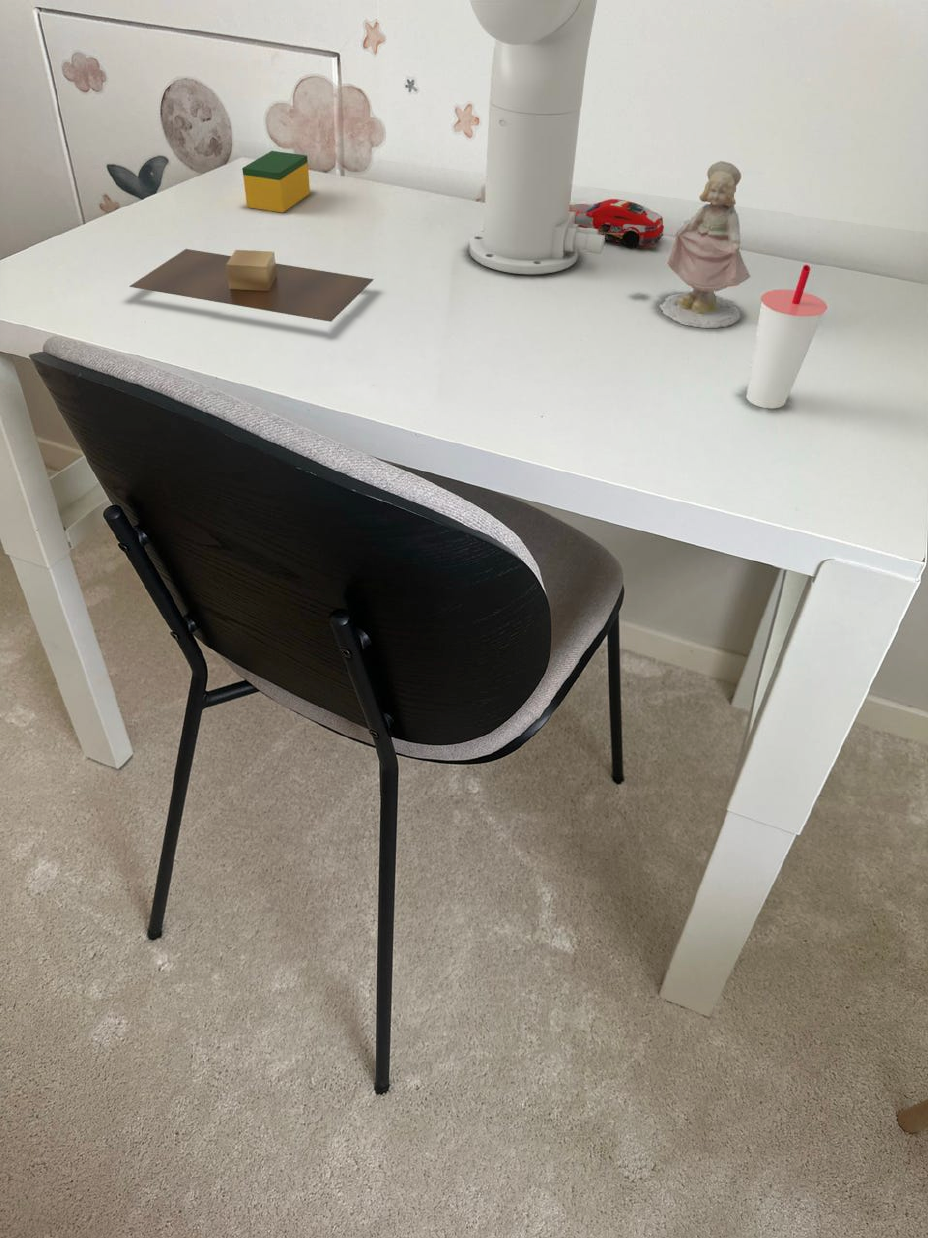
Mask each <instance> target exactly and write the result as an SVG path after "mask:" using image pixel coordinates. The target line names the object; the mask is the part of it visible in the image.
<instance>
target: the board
mask: <svg viewBox="0 0 928 1238" xmlns="http://www.w3.org/2000/svg"><path fill="white" fill-rule="evenodd" d="M231 256H232V255H227V254H220V253H214V252H208V251H201V250H196V249H189V248H185V249H184V250H182V251H181V252H179V253H177V254H176V255H175V256H172V257H171V258H170V259H168V260H167V261H165V262H163V263H162V264H160V265H159V266H158V267H156V268H155V269H153V270H152V271H150V272H148V273H147V274H146V275H144V276H143V277H141V278H140V279H138V280H137V281H135V282H133V283H132V284H131V285H129V288H133V289H139V290H144V291H145V290H147V291H152V292H158V293H162V294H169V295H175V296H181V297H186V298H191V299H199V300H203V301H208V302H215V303H221V304H227V305H232V306H238V307H244V308H249V309H254V310H260V311H267V312H272V313H273V312H274V313H278V314H285V315H290V316H297V317H301V318H307V319H313V320H319V321H324V322H332V321H333V320H334V319H335V318H336V317H338V315H340V314H341V313H342V312H343V311H344V309H345V308H347V307H348V306H349V305H350V304H351V303H352V302H353V301H354V300H355V299H356V297H358V296H359V295H360V294H361V293H362V292H363V291H364V290H365V289H366V288H367V287H368V286H369V285H370V284H371V283H372V282H373V281H374V279H373V278H368V277H363V276H357V275H350V274H344V273H338V272H331V271H325V270H319V269H313V268H307V267H300V266H294V265H288V264H282V263H276V262H275V264H276V273H277V276H276V278H275V280H274V282H273V284H272V286H271V288H270V290H269V291H257V290H237V289H230V287H229V281H228V274H227V267H226V264H227V263H228V261H229V259H230V258H231Z"/></svg>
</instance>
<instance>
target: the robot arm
mask: <svg viewBox="0 0 928 1238" xmlns="http://www.w3.org/2000/svg"><path fill="white" fill-rule="evenodd" d="M469 2H470V6H471V8H472V11H473V13H474V15H475V17H476V19H477V21H478V23H479V24H480V26H481V27H482V28H483V30H484V31H485V32H486V33H487V34H488V35H489V36H490V37H492V38H493V39H494V40H495V41H494V47H493V57H492V65H491V76H490V94H489V98H490V99H489V108H488V109H489V110H488V127H487V128H488V129H487V149H486V151H487V152H486V153H487V154H486V169H485V170H486V171H485V172H486V173H485V174H486V175H485V191H484V193H485V194H484V211H483V212H484V216H483V230H481V231H479V232H477V233H476V234H474V235H473V236H471V239H470V240H469V245H468V247H469V248H468V249H469V254H470V257H471V258H472V259H473V260H474V261H476V262H477V263H478V264H480V265H481V266H484V267H487V268H489V269H492V270H495V271H499V272H503V273H509V274H515V275H546V274H553V273H557V272H561V271H563V270H567V269H568V268H570V267H572V266H573V265H574V264H575V263H576V262H577V261H578V259H579V252H580V251H585V252H586V253H593V254H600V255H602V254H603V252H604V248H605V243H606V240H605V235H598V229H593V228H582V227H578V224H574V221H575V212H571V211H569V210H570V205H571V201H572V192H573V182H574V171H575V165H576V164H575V163H576V155H577V146H578V145H577V144H578V137H579V126H580V117H581V109H582V102H583V95H584V94H583V93H584V85H585V77H586V76H585V75H586V69H587V60H588V54H589V48H590V41H591V36H592V30H593V26H594V25H593V24H594V18H595V14H596V8H597V4H598V3H597V2H598V0H469Z"/></svg>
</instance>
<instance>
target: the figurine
mask: <svg viewBox="0 0 928 1238" xmlns="http://www.w3.org/2000/svg"><path fill="white" fill-rule="evenodd" d="M706 177H707V179H708V180H707V182H706V183H705V185H704V186H705V187H704V189H703V191H702V193H701V194H700V195H699V197H698V198H699V201H700V202H703V203H706V202H707V203H706V204H704V205H702V206H701V208H699V209H698V210H697V212H696V213H695V215H694V216H693V217H691V218H690V219H688V220H685V221H683V224H682V227H679V228H678V229H677V231H676V232H675V240H674V243H673V247H672V249H671V253H670V254H669V258H668V260H667V265H668V267H669V268H670V269H671V270H672V271H673V272H674V273H675V274H676V275H677V276H678V277H679V278H680V279H681V281H683V282H684V283H685V284H686V285H687V286H689V287H691V288H692V291H689V292H686V293H675V294H671V295H669V296H666V298H664V300H665V301H663V302H662V303H661V304H659V308H660V310H661V311H662V313H663V315H665V316H666V317H668V318H670V319H672V320H673V321H675V322H678V323H679V324H681V325H685V326H691V327H693V328H701V329H703V328H704V329H719V328H721V327H722V328H726V327H728V326H732V325H734V324H735V323H737V322H738V321H739V320H740V318H741V312H740V310H739V309H738V308H737V307H736V306H735V304H734V303H733V302H731V301H730V300H728V299H724V298H722V297H720V296H717V295H716V293H715V292H719V291H722V290H725V289H727V288H730V287H732V288H733V287H736V286H740V284H742V283H744V282H745V281H747V280H749V279H750V278H751V274H750V273H749V270H748V268H747V266H746V264H745V262H744V259H743V257H742V253H741V251H740V247H741V246H740V244H741V229H740V228H741V225H740V224H741V223H740V219H739V214H738V212H737V211H736V208H735V207H736V206H735V205H736V203H737V201H736V199H735V194H736V193H737V185H738V184H739V183H740V181H741V179H742V173H741V172H740V169H739V168H737V166H736V165H734V164H733V163H731V162H727V161H723V160H719V161H717V162H714V163H713V164H711V165H710V167H708V169H707V174H706ZM638 297H642V295H641V294H639V295H638Z"/></svg>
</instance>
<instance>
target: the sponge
mask: <svg viewBox="0 0 928 1238" xmlns="http://www.w3.org/2000/svg"><path fill="white" fill-rule="evenodd" d="M241 168H242V169H241V170H242V175H243V176H242V177H243V185H244V193H245V201H246V208H249V209H257V210H264V211H270V212H276V213H285V212H286V211H288V210H289V209H291V208H292V207H293V206H295V205H296V204H297V203H299V202H300V201H302V200H303V199H304V198H306V197H307V196H309V195H310V194H311V187H310V186H311V185H310V175H309V174H310V173H309V161H308V155H306V154H298V153H292V152H291V153H290V152H285V151H284V152H283V151H277V150H276V151H275V150H270V151H269V152H267V153H265V154H263V155H262V156H260V157H259V158H257V159H255V160H254V161H252V162H250V163H248V164H247V165H245V166H244V167H241Z"/></svg>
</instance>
